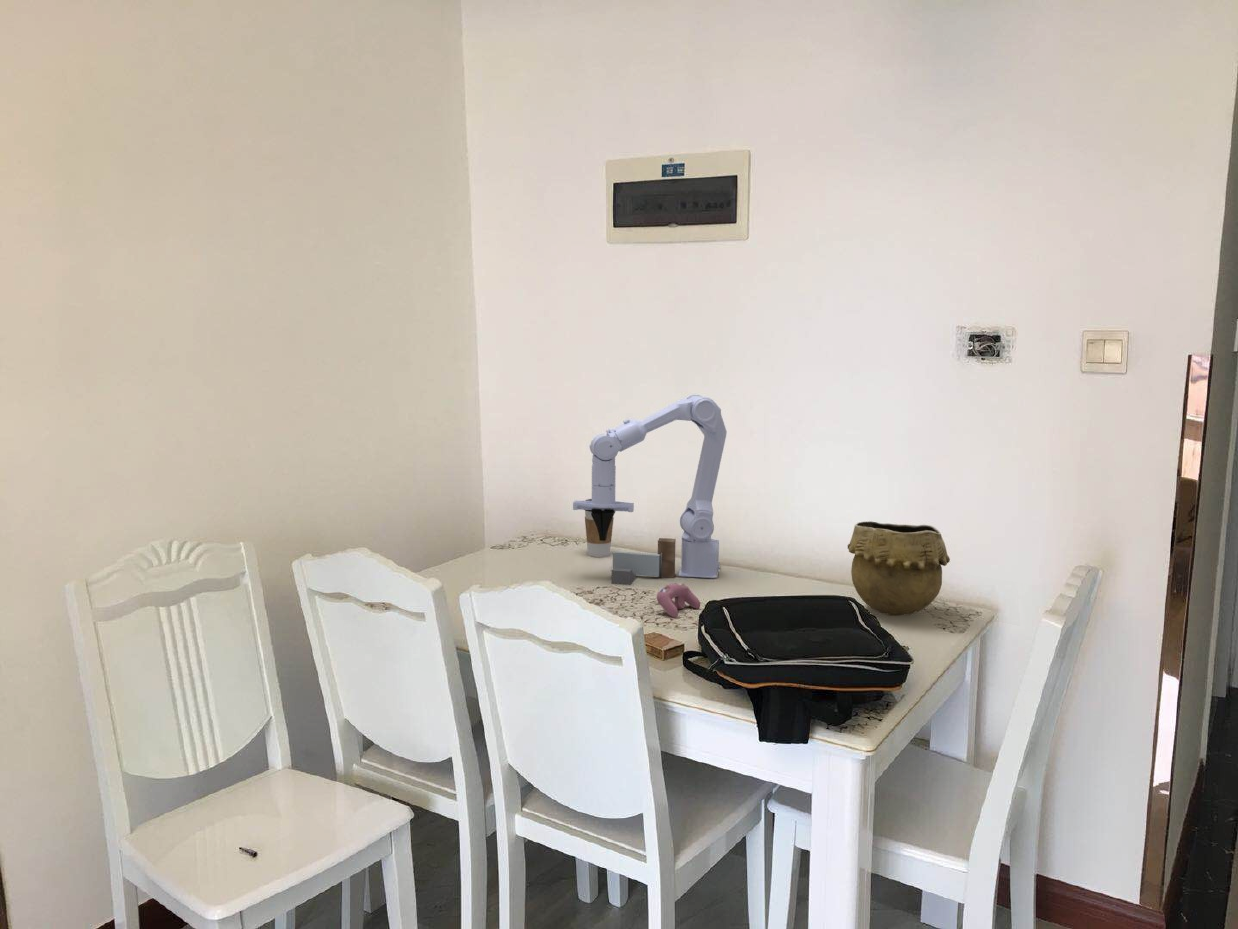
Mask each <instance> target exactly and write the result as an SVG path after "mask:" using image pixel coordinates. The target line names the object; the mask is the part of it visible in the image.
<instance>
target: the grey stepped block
mask: <svg viewBox="0 0 1238 929" xmlns="http://www.w3.org/2000/svg"><path fill="white" fill-rule="evenodd" d="M636 577H637V575H636V574H634V572H632V569H622V568H613V567H612V569H611V582H610V583H611V584H613V585H625V586H631V584H632V583H633V582H634V580H635V579H637V578H636Z"/></svg>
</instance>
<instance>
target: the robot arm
mask: <svg viewBox="0 0 1238 929" xmlns="http://www.w3.org/2000/svg"><path fill="white" fill-rule="evenodd" d="M674 421H687V422H688V421H689V422H692V423H694V424H695V425H696V426H697V428H698V429H699V431H700V432H701V433H702V434H703V442H702V445H701V446H702V447H701V451H700V455H699V461H698V465H697V469H696V474H695V479H694V482H693V489H692V494H691V496H690V499H689V500H688V501H687V503H686V507H685V509H684V511H683V512H682V513H681V516H680V518H679V525H680V526H679V527H680V528H681V529H682V530H683V533H682V535H681V552H680V554H681V556H680V558H681V561H680V563H681V564H680V568H679V571H678V574H677V576H678V577H683V578H684V577H685V578H703V579H704V578H706V579H717V578H718V574H719V571H720V567H721V566H720V565H721V564H720V561H719V560H720V540H719V539H713V538H712V535H713V533H714V530H715V526H714V521H713V518H714V509H713V499H714V494H715V490H716V489H715V488H716V484H717V480H718V475H719V470H720V465H721V461H722V458H723V457H722V456H723V454H724V453H723V452H724V448H725V443H726V438H727V428H726V425H725V422H724V419H723V416H722V409H721V408H720V407H719V405H718V404H717V403H716V402H715V401H714V399H711V398H710V397H704V396H701V395H699V394H691V395H689V396H688V397H686V398H685V397H684V398H681V399H679V400H676V401H674V402H673V403H671V404H669V405H667V406H665V407H663V408H662V409H661V410H659V411H656V412H655V413H653V414H651V415H649V416H647V417H645V418H644V419H642V420H637V419H635V418H632V419H631V420H630V419H629V418H626V419H625V420H623V424H620V425H618V426H616V427H614V428H612V429H610V428H608V429H606V430H605V432H606V434H605V433H599V434H597V435H595V436H594V437H593V439H592V440H591V441H590V444H589V450H590V452H591V454H592V458H591V461H592V463H591V464H592V465H591V499H592V501H585V500H574V501H572V510H573V511H578V510H582V511H585V510H592V513H591V516H592V518H593V520H594V522H595V524H596V527H597V530H598V534H599V539H600V541H606V539H607V533H608V529H609V526H610V523H611V520H612V518H613V517H614V516H615V513H616V512H628V513H634V507H635V506H634V502H625V501H616V468H617V467H616V456H618V453H619V452H624V451H625V450H627V449H629V448H631V447H634V446H635V445H637V444H639V443H642V442H644V440H645V438H646V436H647V434H648V433H650V432H652V431H655V430H657V429H659V428H661V427H663V426H665V425H668V424H670V423H672V422H674Z"/></svg>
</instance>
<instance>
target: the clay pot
mask: <svg viewBox="0 0 1238 929" xmlns="http://www.w3.org/2000/svg"><path fill="white" fill-rule="evenodd" d="M847 549H848V552H849V553H850V554H854V556H853V558H852V562H851V568H850V569H851V571H850V572H851V573H850V574H851V581H852V584H853V586H854V589H855V592H856V593H857V594H858V596H859V597H860V599H861V600H862V602H864V604H866V606H868V607H870V608H871V609H873V610H874V611H876V612H878V613H880V614H883V615H887V616H892V617H893V616H894V617H898V616H907V615H912V614H914V613H917V612H920V611H922V610H924V609H925V608H927V607H928V606H929V605H930V604H931V603H932V602H933V601H935V599H936V598H937V596H938V595H939V593H940V590H941V588H942V585H943V567H946V566H947V565H948V564H949V562H951V561H950V560H951V558H950V557H949V555H948V552H947V547H946V544H945V541H944V539H943V536H942V533H941V532H940V530H939V529H937V527H935V526H933V525H928V524H920V525H919V524H918V525H914V524H897V523H880V522H877V521H872V520H871V521H870V520H869V521H861V522H857V523H856V524H854V528H853V530H852V535H851V538H850V541H849V543H848V544H847ZM942 566H943V567H942Z"/></svg>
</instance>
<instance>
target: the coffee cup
mask: <svg viewBox="0 0 1238 929" xmlns="http://www.w3.org/2000/svg"><path fill="white" fill-rule="evenodd" d="M584 501H592V498H587V499H586V500H584ZM591 513H592V510H584V514H585V515H584V524H585V526H584V527H585V533H586V534H585V536H586V544H587V555H588V556H590V557H593V558H605V557H609V556H610V555H611V547H612V546H611V545H612V536H613V529H614V518H615V517H614V516H613V518H612V520H611V523H610V526H609V529H608V533H607V539H606V541H600V539H599V534H598V530H597V527H596V524H595V522H594V520H593V518H592V516H591Z"/></svg>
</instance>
